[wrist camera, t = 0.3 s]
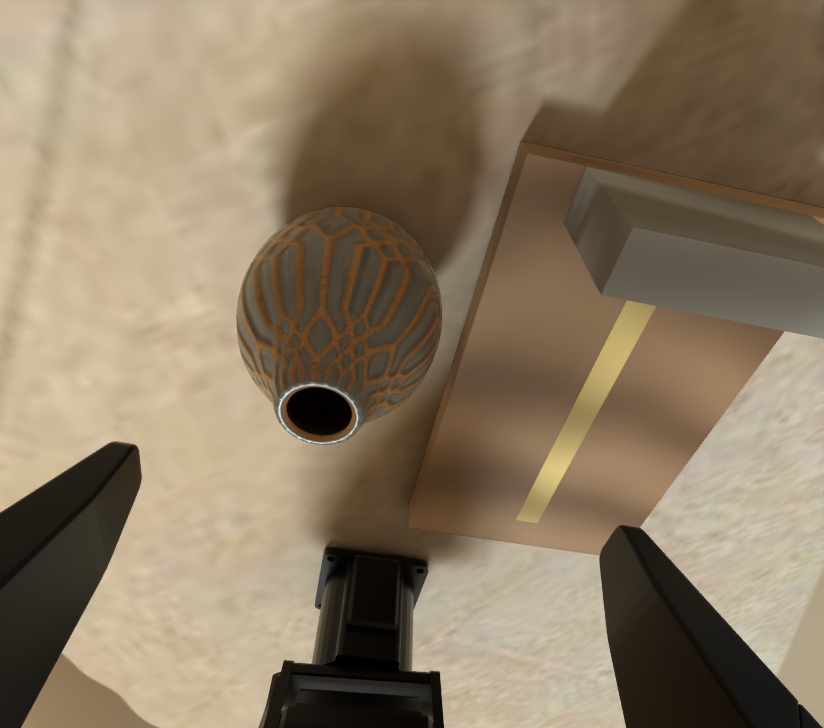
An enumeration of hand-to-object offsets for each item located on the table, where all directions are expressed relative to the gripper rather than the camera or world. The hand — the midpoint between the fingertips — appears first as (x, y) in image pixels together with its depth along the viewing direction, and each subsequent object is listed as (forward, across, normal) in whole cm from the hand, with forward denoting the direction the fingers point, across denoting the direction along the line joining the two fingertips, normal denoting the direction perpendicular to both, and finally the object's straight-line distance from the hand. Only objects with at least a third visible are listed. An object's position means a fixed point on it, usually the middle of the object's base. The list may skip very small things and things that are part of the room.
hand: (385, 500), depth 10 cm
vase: (+13, +2, +2) cm, 14 cm away
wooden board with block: (+13, -9, +6) cm, 17 cm away
